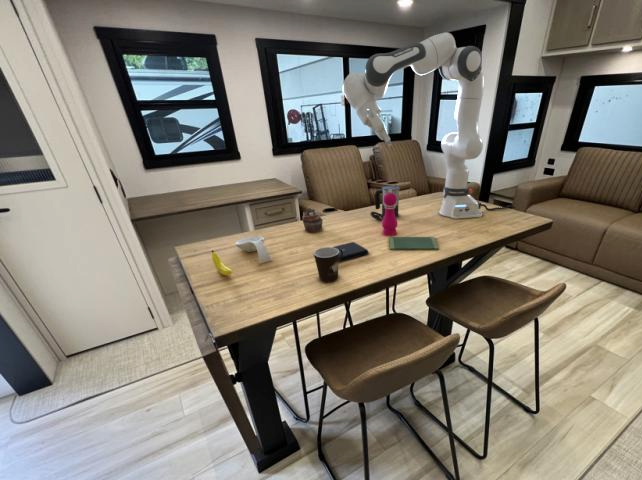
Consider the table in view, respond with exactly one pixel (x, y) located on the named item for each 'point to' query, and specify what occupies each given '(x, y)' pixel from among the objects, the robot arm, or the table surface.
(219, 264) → the banana
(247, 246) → the spoon rest
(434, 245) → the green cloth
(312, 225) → the cupcake
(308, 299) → the table surface
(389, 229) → the pepper mill
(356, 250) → the laptop
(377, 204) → the milk frother
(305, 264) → the table surface
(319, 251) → the coffee mug
